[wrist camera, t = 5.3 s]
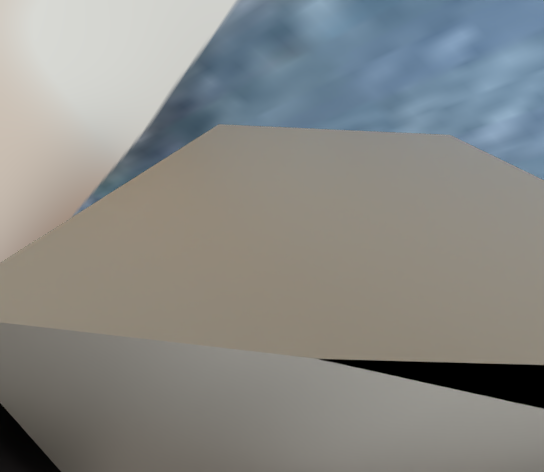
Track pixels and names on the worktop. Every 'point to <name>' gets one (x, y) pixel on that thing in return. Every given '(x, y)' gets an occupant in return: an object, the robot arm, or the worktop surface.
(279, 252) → the chalk-white cube
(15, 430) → the robot arm
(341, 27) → the worktop surface
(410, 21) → the worktop surface
